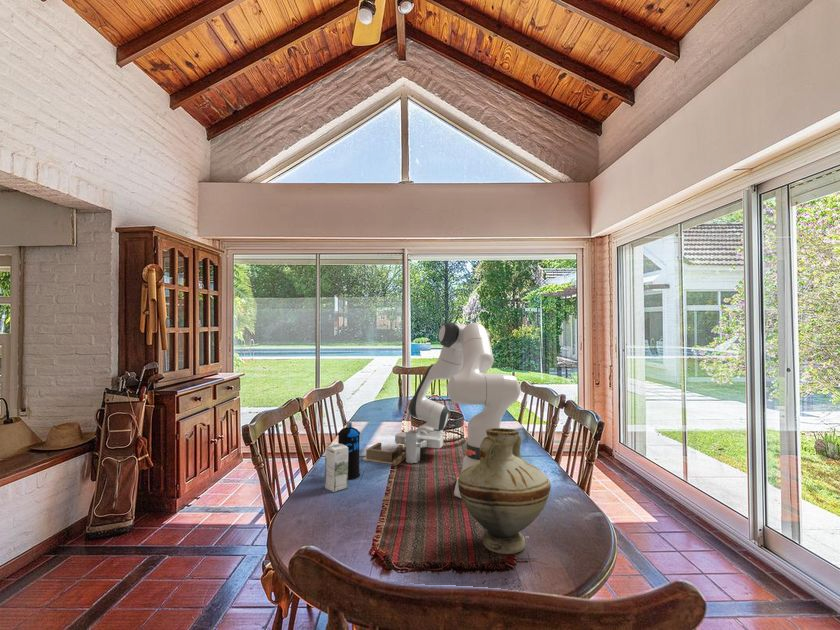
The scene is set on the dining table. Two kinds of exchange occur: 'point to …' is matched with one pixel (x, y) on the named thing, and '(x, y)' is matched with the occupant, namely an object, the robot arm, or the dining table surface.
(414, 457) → the bar
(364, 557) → the dining table surface
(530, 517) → the amphora
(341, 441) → the aerosol can
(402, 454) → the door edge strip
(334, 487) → the syrup box
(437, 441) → the robot arm
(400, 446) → the keeper
